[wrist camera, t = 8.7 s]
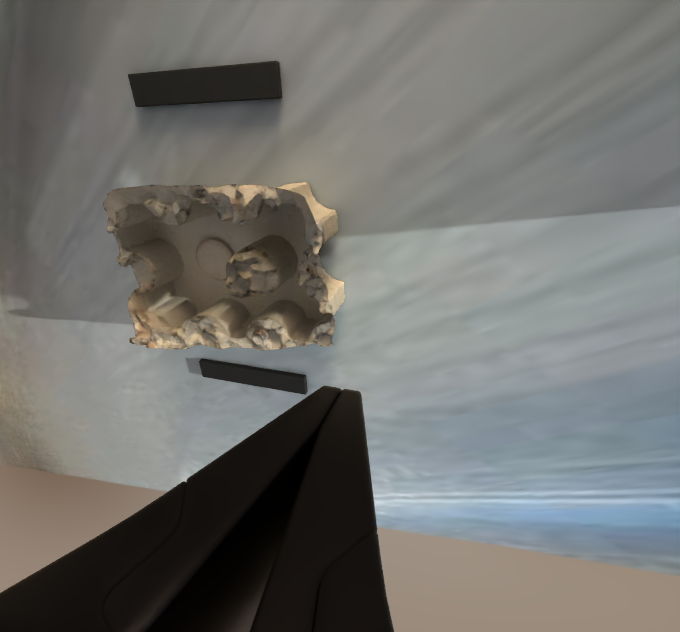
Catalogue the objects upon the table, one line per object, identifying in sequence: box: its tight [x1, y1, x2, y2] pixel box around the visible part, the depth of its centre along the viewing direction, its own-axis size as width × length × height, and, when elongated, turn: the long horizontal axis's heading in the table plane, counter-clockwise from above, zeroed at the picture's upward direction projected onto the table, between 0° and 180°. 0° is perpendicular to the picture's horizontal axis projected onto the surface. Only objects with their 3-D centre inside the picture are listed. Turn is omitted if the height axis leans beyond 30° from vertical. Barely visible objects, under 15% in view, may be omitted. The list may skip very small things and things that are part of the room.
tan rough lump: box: [103, 182, 345, 351], centre depth 16 cm, size 11×8×4 cm
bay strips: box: [128, 61, 307, 394], centre depth 18 cm, size 7×16×1 cm, turn 1°
